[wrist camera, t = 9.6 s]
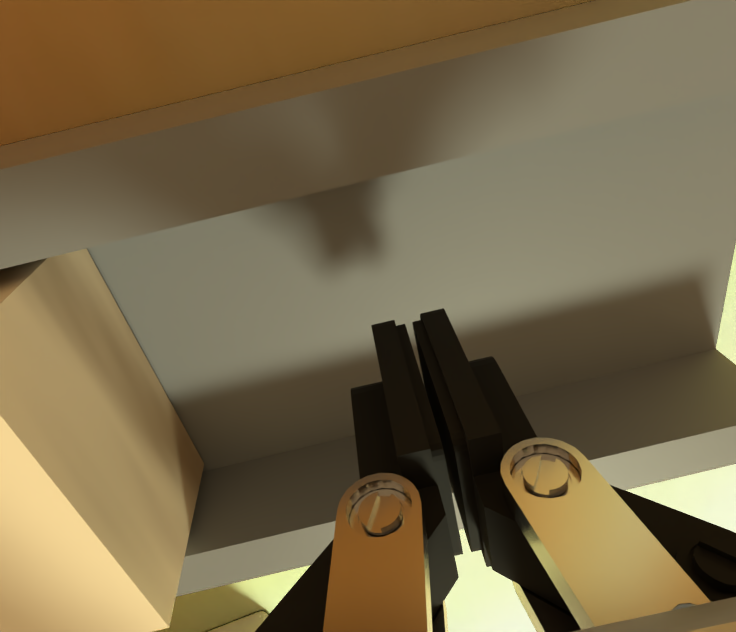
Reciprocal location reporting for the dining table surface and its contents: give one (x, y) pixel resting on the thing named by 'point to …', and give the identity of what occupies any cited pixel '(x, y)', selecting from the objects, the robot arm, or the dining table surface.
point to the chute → (416, 251)
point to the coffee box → (244, 623)
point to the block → (85, 460)
